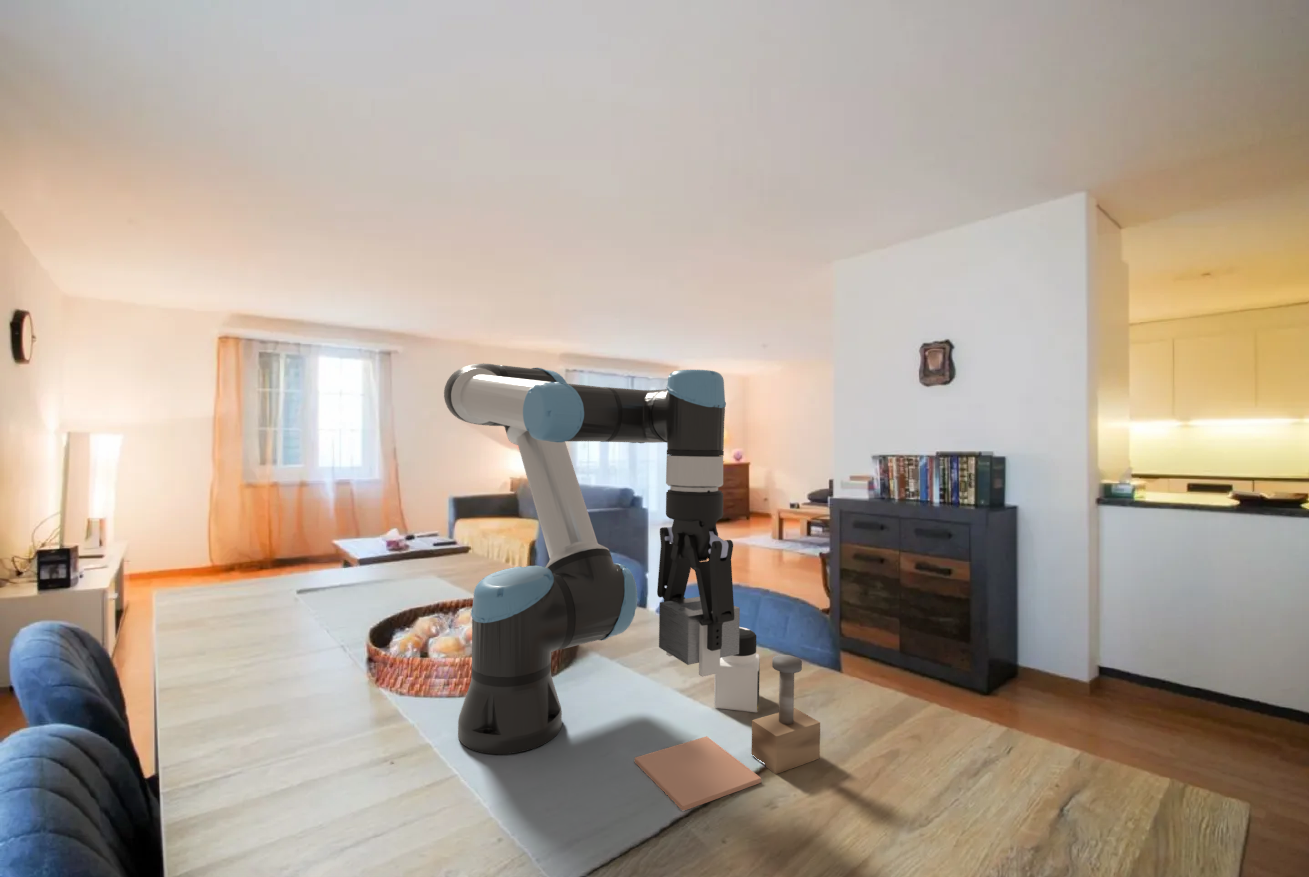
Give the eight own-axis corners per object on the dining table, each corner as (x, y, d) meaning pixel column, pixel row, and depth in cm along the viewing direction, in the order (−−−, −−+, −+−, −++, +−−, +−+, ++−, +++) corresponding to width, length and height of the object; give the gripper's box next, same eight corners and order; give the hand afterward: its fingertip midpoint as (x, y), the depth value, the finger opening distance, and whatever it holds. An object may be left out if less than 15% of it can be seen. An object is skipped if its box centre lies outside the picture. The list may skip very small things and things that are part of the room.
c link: (687, 664, 72) (688, 616, 72) (658, 647, 78) (659, 602, 78) (739, 653, 76) (739, 607, 76) (707, 637, 82) (708, 595, 82)
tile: (634, 761, 79) (634, 757, 79) (706, 740, 86) (706, 736, 86) (682, 811, 69) (682, 806, 69) (760, 782, 75) (761, 777, 75)
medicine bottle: (758, 713, 94) (759, 639, 94) (713, 708, 96) (715, 635, 96) (759, 694, 101) (760, 625, 101) (718, 690, 103) (719, 622, 103)
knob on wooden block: (751, 756, 81) (753, 659, 81) (793, 741, 86) (795, 649, 86) (776, 774, 77) (777, 671, 77) (819, 758, 81) (821, 661, 81)
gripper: (767, 494, 70) (764, 685, 70) (677, 482, 87) (675, 636, 87) (716, 496, 66) (714, 698, 66) (633, 483, 84) (631, 644, 83)
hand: (692, 662), depth 77 cm, fingers closed on c link, 7 cm apart
